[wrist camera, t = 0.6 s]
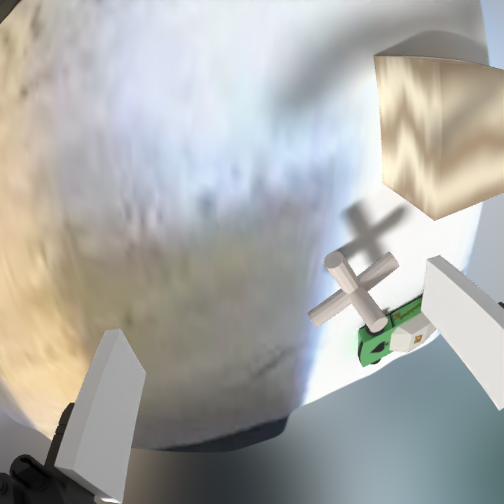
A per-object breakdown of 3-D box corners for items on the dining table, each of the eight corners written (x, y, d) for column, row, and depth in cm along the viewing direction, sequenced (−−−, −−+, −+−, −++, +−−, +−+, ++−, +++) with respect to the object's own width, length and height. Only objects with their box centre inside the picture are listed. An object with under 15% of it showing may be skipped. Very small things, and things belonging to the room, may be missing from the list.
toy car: (351, 325, 41) (367, 350, 37) (448, 271, 41) (467, 290, 37) (352, 359, 47) (365, 381, 43) (439, 310, 47) (454, 328, 43)
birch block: (373, 55, 20) (439, 62, 14) (460, 60, 21) (517, 73, 15) (382, 183, 28) (434, 220, 22) (459, 162, 29) (507, 190, 23)
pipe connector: (379, 258, 34) (429, 314, 26) (314, 308, 36) (350, 372, 28) (350, 200, 28) (413, 257, 20) (270, 261, 30) (308, 336, 22)
